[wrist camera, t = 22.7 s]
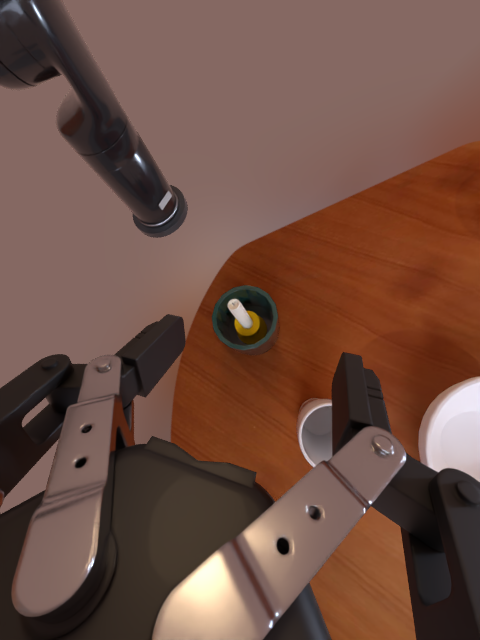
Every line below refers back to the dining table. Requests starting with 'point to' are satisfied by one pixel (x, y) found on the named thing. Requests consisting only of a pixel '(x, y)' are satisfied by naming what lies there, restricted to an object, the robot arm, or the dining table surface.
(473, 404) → the bowl
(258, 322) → the candle
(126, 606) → the robot arm
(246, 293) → the cup
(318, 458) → the drinking glass
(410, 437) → the dining table surface
